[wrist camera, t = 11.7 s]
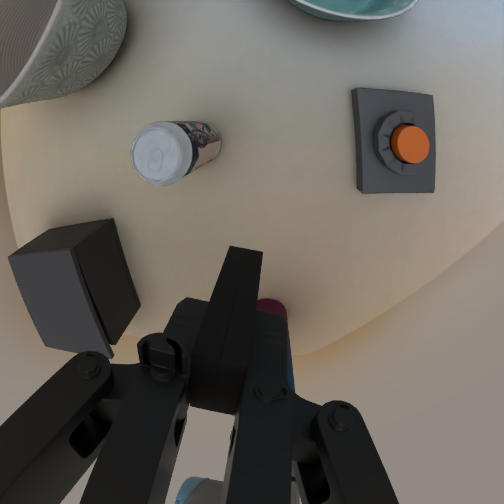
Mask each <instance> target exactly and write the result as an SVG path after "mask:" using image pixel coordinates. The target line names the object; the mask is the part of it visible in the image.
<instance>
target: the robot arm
mask: <svg viewBox="0 0 504 504" xmlns="http://www.w3.org/2000/svg"><path fill="white" fill-rule="evenodd" d="M262 257H263V252H261V251H255V250H250V249H245V248H239V247H234V246H230V247H229V250H228V252H227V255H226V258H225V260H224V263H223V266H222V269H221V271H220V274H219V277H218V279H217V282H216V285H215V288H214V290H213V293H212V296H211V299H210V301H209V302H207V301H202V300H198V299H193V298H189V297H186V298H185V299H184V300H182V301H181V302H179V303H178V304H177V306H176V308H175V310H174V312H173V314H172V316H171V318H170V320H169V323H168V324H167V326H166V328H165V330H164V332H163V333H153V334H149V335H147V336H145V337H143V338H142V339H141V340H140V341H139V342H138V344H137V348H138V354H139V360H140V363H137V364H110V362H109V360H108V358H107V357H106V356H105V355H104V354H102V353H99V352H97V351H85V352H80V353H79V354H77V355H76V356H74V357H73V358H72V359H70V360H69V361H68V362H67V363H66V364H65V365H64V366H63V367H62V368H61V369H60V370H58V371H57V372H56V373H55V374H54V375H53V376H52V377H51V378H50V379H49V380H48V381H47V382H45V384H43V385H42V386H41V387H40V388H39V389H38V390H37V391H36V392H35V393H34V394H33V395H32V396H31V397H30V398H29V399H28V400H27V401H26V402H25V403H24V404H23V405H21V407H19V408H18V409H17V410H16V411H15V412H14V413H13V414H12V415H11V416H10V417H9V418H8V419H7V420H6V421H5V422H4V423H3V424H2V425H1V426H0V504H60V503H61V501H62V500H63V499H64V498H65V496H66V495H67V494H68V493H69V492H70V490H71V489H72V488H73V487H74V485H75V484H76V483H77V482H78V480H79V479H80V478H81V477H82V476H83V474H84V473H85V472H86V471H87V469H88V468H89V467H90V466H91V464H92V463H93V462H94V461H95V459H96V458H97V457H98V458H97V461H96V463H95V465H94V468H93V470H92V473H91V475H90V477H89V480H88V483H87V485H86V488H85V490H84V493H83V496H82V498H81V501H80V504H165V500H166V496H167V492H168V488H169V484H170V481H171V477H172V473H173V469H174V465H175V462H176V458H177V454H178V451H179V447H180V443H181V440H182V436H183V433H184V429H185V425H186V421H187V410H188V407H189V403H190V406H192V407H196V408H201V409H206V410H210V411H215V412H220V413H225V414H231V415H235V421H234V425H233V429H232V432H231V436H230V447H229V452H228V459H227V465H226V470H225V476H224V482H223V481H217V480H210V479H209V478H200V477H190V478H188V479H186V480H185V481H184V483H183V484H182V486H181V488H180V490H179V492H178V494H177V497H176V501H175V504H299V498H301V501H302V504H399V502H398V500H397V497H396V495H395V492H394V490H393V488H392V485H391V483H390V480H389V478H388V476H387V473H386V471H385V469H384V466H383V464H382V461H381V459H380V457H379V454H378V452H377V450H376V447H375V445H374V443H373V441H372V438H371V436H370V434H369V432H368V430H367V427H366V425H365V422H364V420H363V418H362V416H361V414H360V413H359V411H358V410H357V408H355V407H354V406H353V405H351V404H350V403H347V402H344V401H335V400H333V401H330V402H327V403H325V404H324V405H323V406H320V405H317V404H315V403H312V402H310V401H307V400H305V399H303V398H301V397H300V396H298V395H297V394H296V393H295V392H294V391H293V390H292V389H291V387H290V385H289V383H288V362H287V324H286V322H285V320H284V318H283V317H282V315H281V314H275V313H269V312H263V311H258V310H256V306H257V298H258V290H259V282H260V273H261V265H262ZM299 496H300V497H299Z"/></svg>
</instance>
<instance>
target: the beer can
mask: <svg viewBox="0 0 504 504" xmlns="http://www.w3.org/2000/svg"><path fill="white" fill-rule="evenodd" d="M220 147H221V138H220V134H219V132H218V131H217V130H216V128H215V127H214V126H212V125H211V124H210V123H207V122H202V121H158V122H154V123H151V124H149V125H148V126H146V127H144V128H143V129H142V130H141V131H140V132H139V133H138V135H137V137H136V138H135V140H134V143H133V147H132V149H131V158H132V165H133V168H134V170H135V171H136V172H137V173H138V174H139V176H141V178H142V179H143V180H145V181H146V182H148V183H150V184H153V185H158V186H166V185H170V184H173V183H175V182H177V181H179V180H180V179H181V178H182V177H184V176H186V175H187V174H189V173H191V172H192V171H194V170H196V169H198V168H199V167H201V166H203V165H204V164H206V163H208V162H210V161H212V160H213V159H214V158H215V157H216V156H217V154H218V153H219V151H220Z"/></svg>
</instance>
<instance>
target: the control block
mask: <svg viewBox="0 0 504 504" xmlns="http://www.w3.org/2000/svg"><path fill="white" fill-rule="evenodd" d="M351 92H352V102H353V113H354V125H355V140H356V161H357V189H358V190H359V191H360V192H361V193H363V194H366V193H434V188H435V158H436V147H435V118H434V104H433V96H432V95H427V94H420V93H413V92H405V91H395V90H384V89H370V88H356V89H353V90H351ZM403 125H407V126H416V127H419V128H420V129H422V130H423V131H424V132H425V134H426V135H427V137H428V140H429V152H428V155H427V157H426V158H425V159H424V160H423V161H421V162H419V163H409V162H407V161H404V160H401V159H400V158H398V157H397V156H396V155H395V154H394V152H393V150H392V147H391V137H392V134H393V132H394V131H395V129H396V128H398V127H400V126H403Z"/></svg>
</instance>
